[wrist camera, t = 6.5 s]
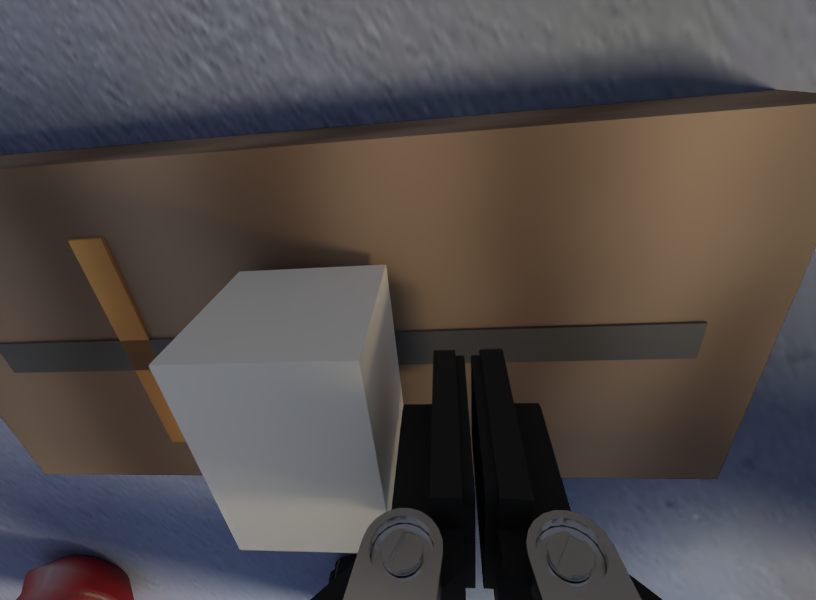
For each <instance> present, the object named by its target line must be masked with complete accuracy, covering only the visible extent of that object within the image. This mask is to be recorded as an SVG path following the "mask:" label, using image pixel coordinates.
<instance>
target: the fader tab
mask: <svg viewBox="0 0 816 600" xmlns="http://www.w3.org/2000/svg"><path fill="white" fill-rule="evenodd" d="M148 366H149V368H150V370H151V372H152V374H153V376H154V378H155V380H156V382H157V384H158V386H159V388H160V390H161V392H162V394H163V396H164V398H165V400H166V402H167V404H168V406H169V408H170V410H171V412H172V414H173V416H174V418H175V420H176V422H177V424H178V426H179V428H180V430H181V432H182V434H183V436H184V438H185V440H186V442H187V444H188V446H189V448H190V450H191V452H192V454H193V456H194V458H195V461H196V463H197V465H198V467H199V469H200V471H201V473H202V475H203V477H204V479H205V481H206V483H207V485H208V487H209V489H210V491H211V493H212V495H213V497H214V499H215V501H216V503H217V505H218V507H219V509H220V511H221V513H222V515H223V517H224V519H225V521H226V523H227V525H228V527H229V529H230V531H231V533H232V535H233V537H234V539H235V541H236V543H237V545H238V547H239V549H240V550H261V551H297V552H333V553H358V550H359V547H360V544H361V541H362V538H363V536H364V534H365V532H366V530H367V528H368V527H369V525H370V524H371V523H372V522H373V521H374V520H375V519H376V518H377V517H379V516H380V515H382V514H383V513H385V512H386V511H390V510H391V509H392V500H393V491H394V482H395V473H396V464H397V455H398V446H399V437H400V428H401V419H402V410H403V398H402V390H401V381H400V373H399V365H398V357H397V349H396V341H395V333H394V324H393V316H392V308H391V300H390V292H389V284H388V276H387V267H386V265H366V266H345V267H324V268H303V269H282V270H261V271H240V272H238V274H237V275H236V276H235V277H234V278H233V279H232V280H231V281H230V282H229V283H228V284H227V285H226V286H225V287H224V288H223V289H222V290H221V291H220V292H219V293H218V294H217V295H216V296H215V297H214V298H213V299H212V300H211V301H210V302H209V303H208V304H207V306H206V307H205V308H204V309H203V310H202V311H201V312H200V313H199V314H198V315H197V316H196V317H195V318H194V319H193V320H192V321H191V322H190V323H189V324H188V325H187V326H186V327H185V328H184V329H183V330H182V331H181V332H180V333H179V334H178V335H177V336H176V337H175V339H174V340H173V341H172V342H171V343H170V344H169V345H168V346H167V347H166V348H165V349H164V350H163V351H162V352H161V353H160V354H159V355H158V356H157V357H156V358H155V359H154V360H153V361H152V362H151V363H150V364H149V365H148Z"/></svg>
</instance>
